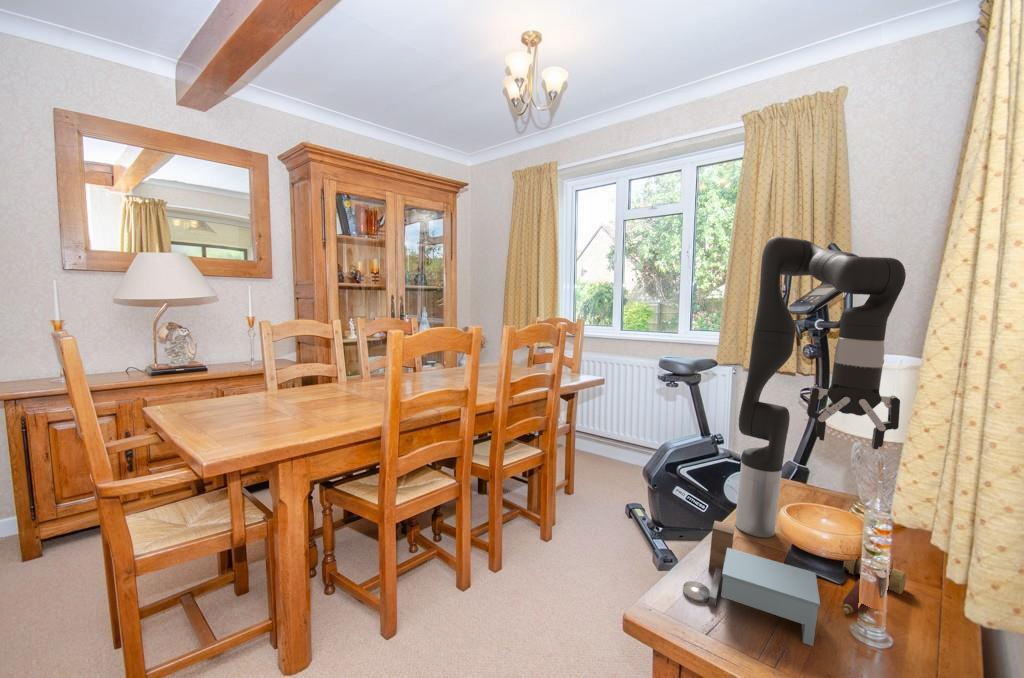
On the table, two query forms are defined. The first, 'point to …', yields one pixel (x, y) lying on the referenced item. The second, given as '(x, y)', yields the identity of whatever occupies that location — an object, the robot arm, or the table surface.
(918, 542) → the table surface
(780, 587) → the plinth shelf
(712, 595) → the wood grain block
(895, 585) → the gavel
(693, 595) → the silver metal disc
